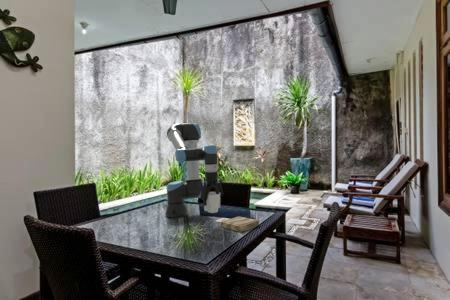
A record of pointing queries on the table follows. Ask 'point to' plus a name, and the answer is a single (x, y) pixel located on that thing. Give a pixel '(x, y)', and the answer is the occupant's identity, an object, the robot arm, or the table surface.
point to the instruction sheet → (221, 219)
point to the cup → (213, 202)
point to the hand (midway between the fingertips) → (212, 209)
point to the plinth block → (239, 224)
